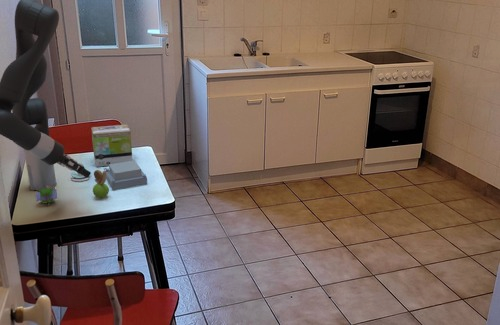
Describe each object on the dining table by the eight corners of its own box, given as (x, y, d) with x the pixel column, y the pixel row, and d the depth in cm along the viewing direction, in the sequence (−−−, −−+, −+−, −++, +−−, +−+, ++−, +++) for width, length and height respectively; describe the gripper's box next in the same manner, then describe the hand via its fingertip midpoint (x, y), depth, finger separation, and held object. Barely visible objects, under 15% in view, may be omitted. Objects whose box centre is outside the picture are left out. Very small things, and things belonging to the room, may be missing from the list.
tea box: (96, 168, 200) (92, 133, 195) (94, 159, 209) (90, 126, 204) (133, 163, 205) (130, 130, 200) (129, 155, 214) (127, 123, 209)
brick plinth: (112, 190, 180) (111, 175, 178) (105, 177, 191) (104, 163, 189) (147, 184, 185) (146, 169, 183) (138, 172, 196) (137, 158, 194)
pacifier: (89, 182, 188) (91, 175, 193) (87, 167, 185) (89, 161, 191) (69, 183, 187) (72, 176, 192) (67, 168, 184) (70, 161, 190)
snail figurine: (102, 202, 171) (99, 170, 166) (90, 198, 174) (86, 166, 169) (114, 196, 175) (111, 165, 171) (102, 192, 178) (98, 162, 174)
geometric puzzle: (57, 203, 165) (55, 180, 167) (36, 205, 163) (33, 183, 165) (59, 207, 172) (56, 185, 174) (38, 210, 169) (36, 188, 171)
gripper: (62, 143, 150) (99, 168, 162) (41, 133, 159) (78, 157, 171) (48, 163, 149) (87, 187, 160) (28, 152, 158) (66, 175, 170)
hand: (82, 171), depth 166 cm, fingers open, 8 cm apart
